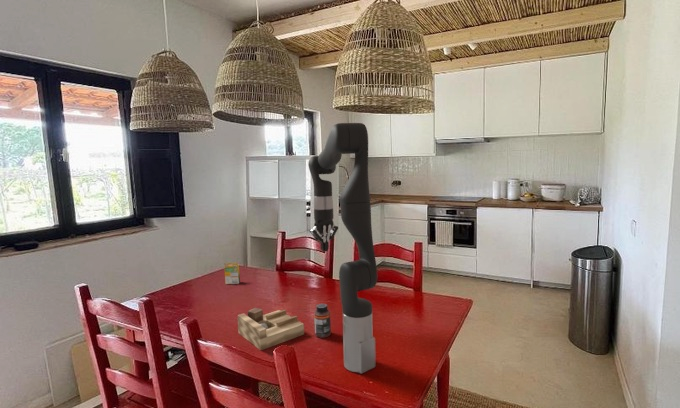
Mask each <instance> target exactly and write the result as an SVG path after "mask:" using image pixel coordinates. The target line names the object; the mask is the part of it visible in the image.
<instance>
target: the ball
mask: <svg viewBox="0 0 680 408" xmlns="http://www.w3.org/2000/svg"><path fill="white" fill-rule="evenodd" d="M260 325H261V326H263V327H264V328H266V329H269V328H268V326H267V324H265V323H260Z"/></svg>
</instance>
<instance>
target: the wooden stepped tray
mask: <svg viewBox="0 0 680 408" xmlns="http://www.w3.org/2000/svg"><path fill="white" fill-rule="evenodd" d="M260 323H265V324H267V326H268V328H269V329H266V328H264V327H263V326H261V325H260ZM237 329H238V331H237V332H238V334H239V335H240V336H242V337H243V338H244V339H246V340H247V341H248V342H249V343H250V344H252V345H253V346H255V348H257V349H258V350H259V351H263V350H266V349H268V348H272V347H274V346H276V345H279V344H282V343H284V342H287V341H290V340H293V339H295V338H297V337H300V336H303V335H305V324H304V323H303V322H301V321H299V320H298V316H297V315H294V316H290V315H289V314H287V309H283V310H280V309H279V310H278V309H277V310H275V311H272V312H269V313H265V314H263V320H262V321H260V322H256V321H254V320H253V319H251V318H250V317H248V314H246V313H240V314H238V315H237Z"/></svg>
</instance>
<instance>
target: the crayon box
mask: <svg viewBox="0 0 680 408" xmlns="http://www.w3.org/2000/svg"><path fill="white" fill-rule="evenodd" d="M240 275H241V274H240V265H239V262H231V263H224V281H225V282H224V283H225V285H238V284H240V283H241V278H240V277H241V276H240Z"/></svg>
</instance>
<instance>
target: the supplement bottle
mask: <svg viewBox="0 0 680 408" xmlns="http://www.w3.org/2000/svg"><path fill="white" fill-rule="evenodd" d="M313 313H314V314H313V315H314V316H313V317H314V318H313V319H314V335H315V336H316V337H317V338H321V339H324V338H329V336H330V335H331V333H332V329H331V328H332V326H331V325H332V324H331V311H330V310H329V309H328V304H326V303H318V304H317V305H316V309H315V311H314V312H313Z"/></svg>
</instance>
